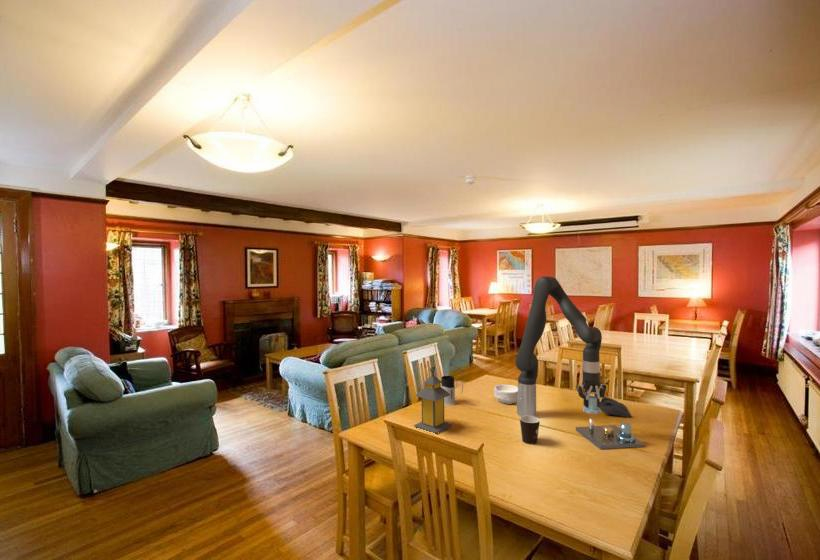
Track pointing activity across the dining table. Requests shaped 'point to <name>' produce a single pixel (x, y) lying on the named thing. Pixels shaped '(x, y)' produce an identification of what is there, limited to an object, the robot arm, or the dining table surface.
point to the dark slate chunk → (614, 407)
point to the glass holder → (449, 389)
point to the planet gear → (592, 406)
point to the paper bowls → (506, 393)
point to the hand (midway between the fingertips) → (591, 406)
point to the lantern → (433, 405)
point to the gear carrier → (610, 436)
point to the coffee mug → (529, 429)
